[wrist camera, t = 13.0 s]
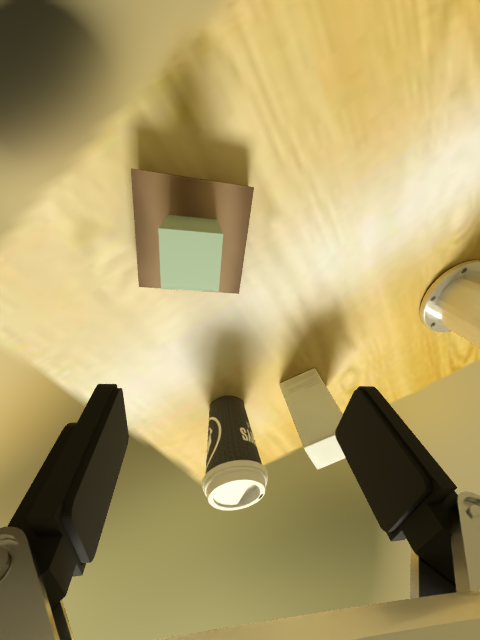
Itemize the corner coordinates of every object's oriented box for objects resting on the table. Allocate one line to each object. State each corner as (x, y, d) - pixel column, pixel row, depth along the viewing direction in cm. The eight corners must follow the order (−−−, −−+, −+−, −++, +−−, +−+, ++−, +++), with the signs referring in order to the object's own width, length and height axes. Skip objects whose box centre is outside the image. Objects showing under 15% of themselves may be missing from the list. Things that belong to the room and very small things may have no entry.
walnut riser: (247, 186, 29) (253, 187, 26) (234, 282, 35) (238, 293, 31) (139, 169, 27) (131, 168, 23) (145, 275, 32) (139, 286, 29)
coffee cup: (229, 430, 50) (240, 518, 37) (190, 413, 46) (187, 505, 33) (261, 402, 47) (285, 486, 34) (223, 381, 43) (233, 468, 30)
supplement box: (277, 383, 45) (302, 447, 34) (315, 366, 44) (352, 427, 34) (290, 406, 49) (316, 471, 38) (325, 391, 48) (362, 453, 37)
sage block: (216, 219, 27) (223, 234, 20) (213, 264, 29) (218, 291, 22) (168, 214, 26) (158, 228, 19) (170, 261, 28) (160, 288, 21)
